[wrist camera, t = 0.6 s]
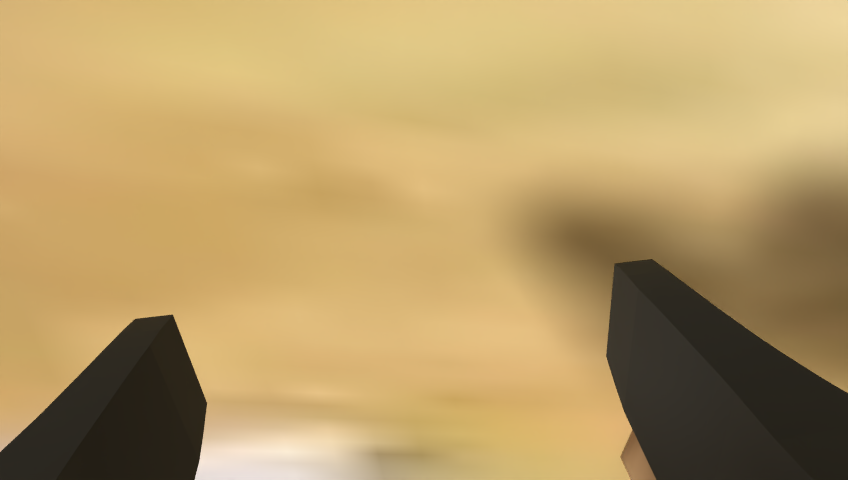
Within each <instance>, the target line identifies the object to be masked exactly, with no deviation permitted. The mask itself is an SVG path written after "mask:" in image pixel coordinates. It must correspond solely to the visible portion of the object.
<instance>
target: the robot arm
mask: <svg viewBox="0 0 848 480" xmlns="http://www.w3.org/2000/svg"><path fill="white" fill-rule="evenodd" d="M606 357H607V360H608V363H609V366H610V370H611V373H612V376H613V379H614V382H615V386H616V389H617V392H618V395H619V398H620V401H621V403H622V406H623V409H624V412H625V414H626V416H627V418H628V421H629V423H630V425H631V427H632V429H633V431H634V434H635V436H636V438H637V440H638V442H639V444H640V446H641V449H642V451H643V453H644V455H645V457H646V459H647V461H648V463H649V465H650V468H651V470H652V472H653V474H654V476H655V478H656V480H848V393H846V392H845V391H843V390H841V389H840V388H838V387H836V386H834V385H833V384H831V383H829V382H828V381H826V380H824V379H823V378H821V377H819V376H818V375H816V374H815V373H813V372H811V371H810V370H808V369H807V368H805V367H804V366H802V365H800V364H799V363H797V362H796V361H794V360H793V359H791V358H789V357H788V356H786V355H785V354H783V353H781V352H780V351H778V350H777V349H776V348H774V347H773V346H771V345H770V344H768V343H767V342H765V341H764V340H762V339H761V338H759V337H758V336H756V335H755V334H753V333H752V332H750V331H749V330H748V329H746V328H745V327H743V326H742V325H741V324H739V323H738V322H736V321H735V320H734V319H732V318H731V317H729V316H728V315H727V314H725V313H724V312H722V311H721V310H720V309H718V308H717V307H716V306H714V305H713V304H712V303H710V302H709V301H708V300H706V299H705V298H703V297H702V296H701V295H699V294H698V293H697V292H695V291H694V290H693V289H691V288H690V287H689V286H687V285H686V284H685V283H683V282H682V281H681V280H679V279H678V278H677V277H675V276H674V275H673V274H671V273H670V272H669V271H667V270H666V269H665V268H663V267H662V266H661V265H659V264H658V263H656V262H655V261H653V260H652V259H650V260H642V261H633V262H624V263H616V264H615V266H614V277H613V288H612V299H611V310H610V321H609V332H608V343H607V354H606ZM206 407H207V402H206V400H205V397H204V394H203V392H202V389H201V387H200V384H199V381H198V379H197V376H196V374H195V371H194V368H193V366H192V363H191V361H190V358H189V356H188V353H187V350H186V348H185V345H184V343H183V340H182V337H181V335H180V332H179V330H178V327H177V324H176V322H175V319H174V317H173V315H166V316H157V317H148V318H140V319H135V320H134V321H133V322H131V323H130V324H129V325H128V326H127V327H126V328H125V329H124V330H123V331H122V332H121V333H120V334H119V335H118V336H117V337H116V338H115V339H114V340H113V341H112V342H111V343H110V344H109V345H108V346H107V347H106V348H105V349H104V350H103V351H102V352H101V353H100V354H99V355H98V356H97V357H96V359H95V360H94V361H93V362H92V363H91V364H90V365H89V366H88V367H87V368H86V369H85V370H84V371H83V372H82V373H81V374H80V375H79V376H78V377H77V378H76V379H75V380H74V381H73V382H72V383H71V384H70V385H69V386H68V387H67V388H66V389H65V390H64V391H63V392H62V393H61V394H60V395H59V396H58V397H57V398H56V399H55V400H54V401H53V402H52V403H51V404H50V405H49V406H48V407H47V408H46V409H45V410H44V411H43V412H42V413H41V414H40V415H39V416H38V417H37V418H36V419H35V420H34V421H33V422H32V423H31V424H30V425H29V426H28V427H27V428H26V429H24V430H23V431H22V432H21V433H20V434H19V435H18V436H17V437H16V438H15V439H14V440H13V441H12V442H11V443H9V444H8V445H7V446H6V447H5V448H4V449H3V450H2V451H1V452H0V480H194V479H195V475H196V471H197V468H198V464H199V459H200V452H201V445H202V439H203V432H204V423H205V415H206Z"/></svg>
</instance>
